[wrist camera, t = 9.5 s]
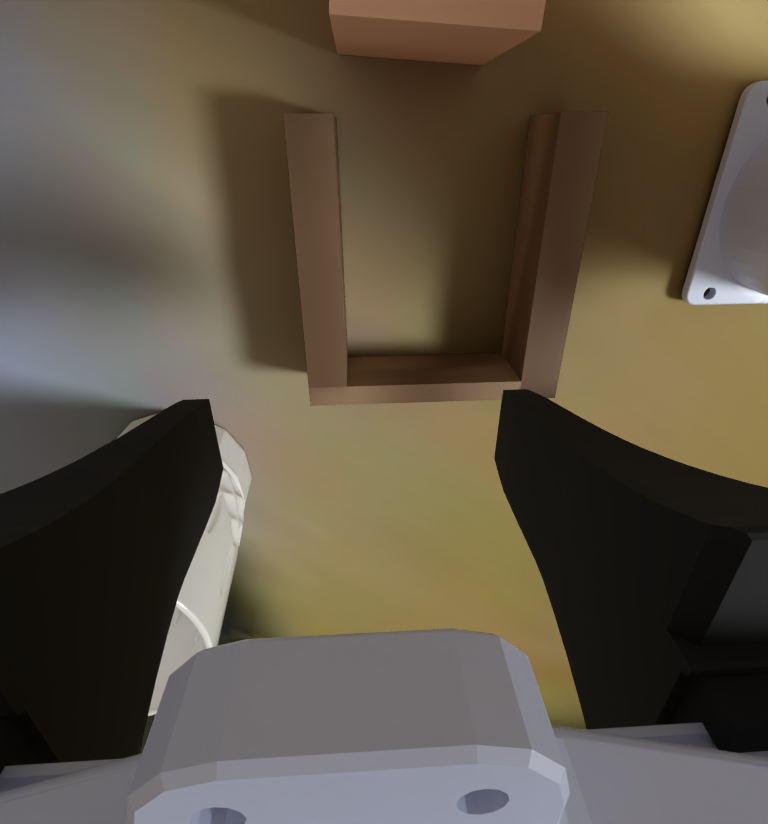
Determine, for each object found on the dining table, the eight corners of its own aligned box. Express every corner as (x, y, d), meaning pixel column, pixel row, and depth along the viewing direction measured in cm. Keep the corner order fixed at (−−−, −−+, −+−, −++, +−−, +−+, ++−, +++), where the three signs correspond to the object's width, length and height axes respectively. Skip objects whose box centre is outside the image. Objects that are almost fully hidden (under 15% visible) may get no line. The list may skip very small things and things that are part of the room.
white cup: (63, 447, 23) (-112, 631, 14) (192, 370, 22) (82, 523, 13) (176, 548, 27) (90, 744, 18) (293, 488, 25) (261, 671, 16)
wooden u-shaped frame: (570, 115, 17) (608, 111, 15) (531, 367, 22) (554, 397, 20) (293, 117, 17) (283, 113, 14) (315, 374, 22) (310, 405, 19)
